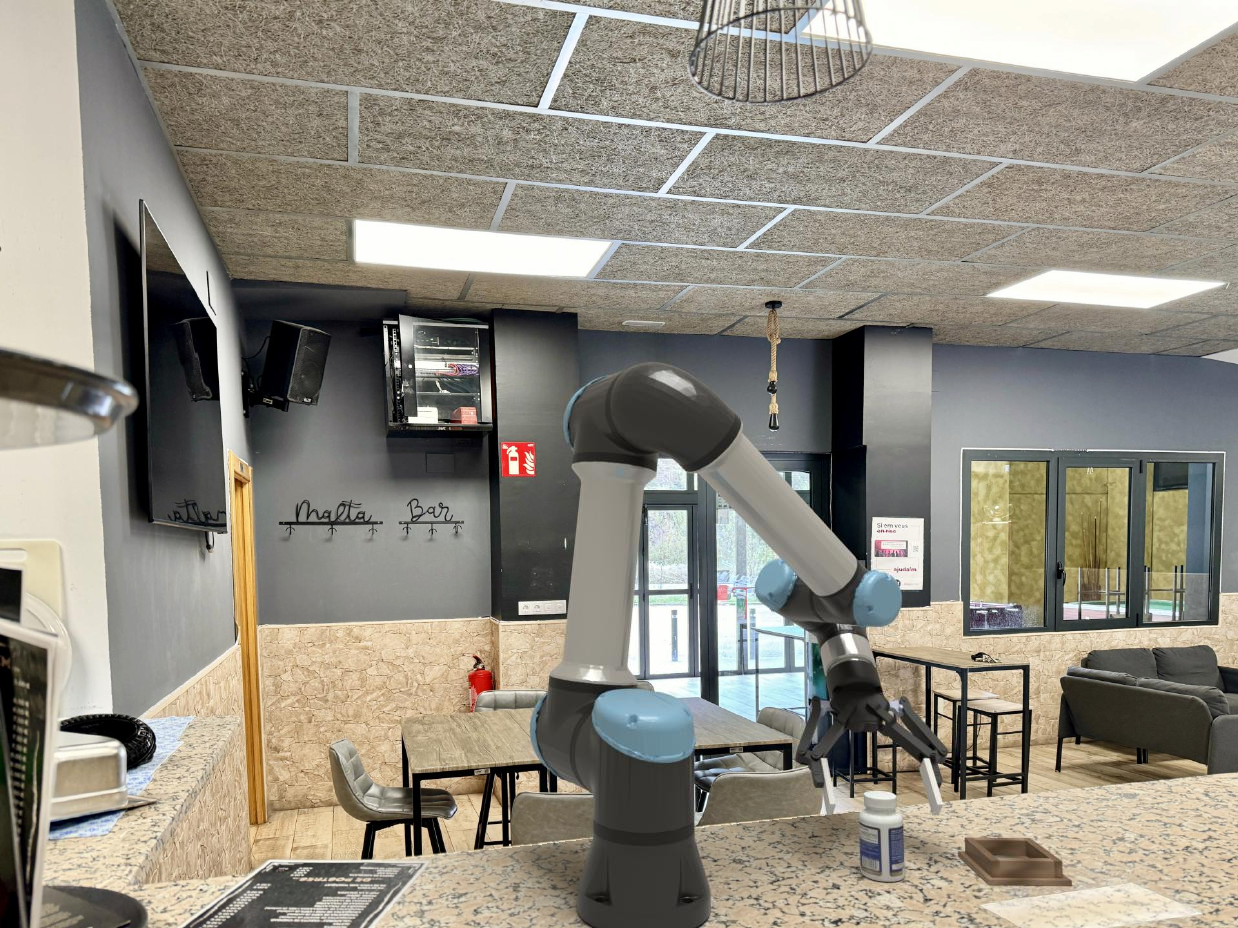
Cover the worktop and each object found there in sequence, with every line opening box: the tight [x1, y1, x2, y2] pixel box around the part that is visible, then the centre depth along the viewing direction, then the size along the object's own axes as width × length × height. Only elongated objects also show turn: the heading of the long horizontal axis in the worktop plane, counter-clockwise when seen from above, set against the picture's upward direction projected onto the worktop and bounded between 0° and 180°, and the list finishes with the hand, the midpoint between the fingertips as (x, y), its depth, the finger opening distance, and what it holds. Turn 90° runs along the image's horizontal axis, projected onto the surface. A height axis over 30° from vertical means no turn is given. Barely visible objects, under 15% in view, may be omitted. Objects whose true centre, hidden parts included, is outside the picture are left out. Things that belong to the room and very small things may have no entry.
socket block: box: [957, 836, 1073, 887], centre depth 108 cm, size 10×10×3 cm
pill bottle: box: [858, 790, 906, 883], centre depth 107 cm, size 5×5×10 cm
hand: (884, 809), depth 109 cm, fingers open, 13 cm apart
